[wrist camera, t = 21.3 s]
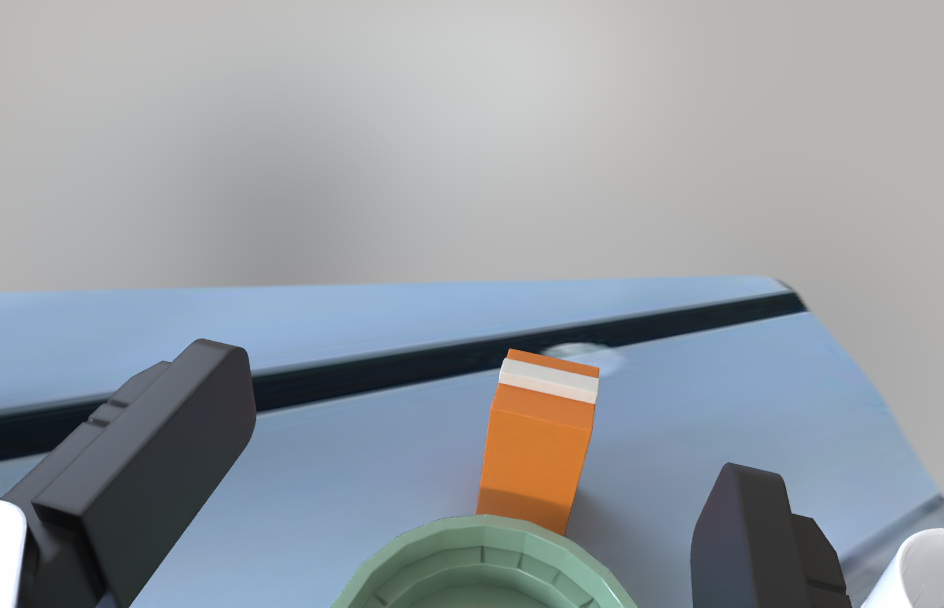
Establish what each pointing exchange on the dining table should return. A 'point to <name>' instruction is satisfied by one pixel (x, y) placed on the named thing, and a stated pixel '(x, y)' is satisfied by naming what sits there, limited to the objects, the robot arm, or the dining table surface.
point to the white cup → (913, 574)
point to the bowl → (482, 569)
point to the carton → (537, 439)
